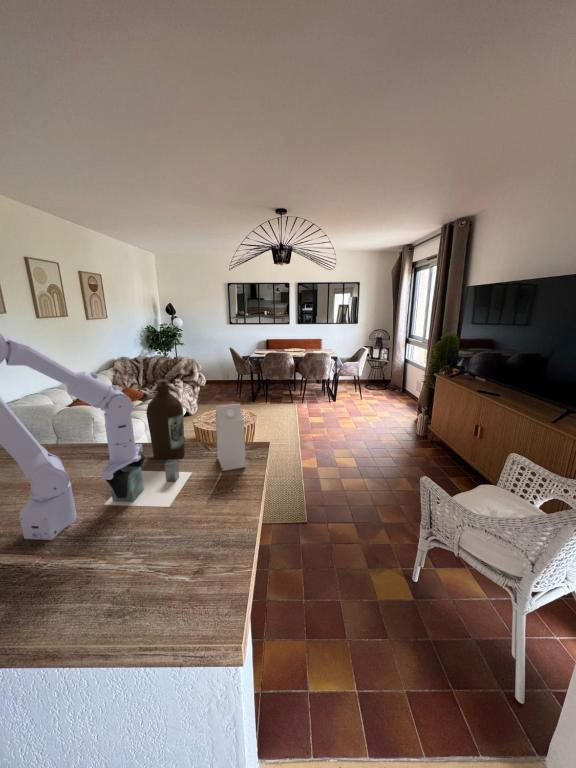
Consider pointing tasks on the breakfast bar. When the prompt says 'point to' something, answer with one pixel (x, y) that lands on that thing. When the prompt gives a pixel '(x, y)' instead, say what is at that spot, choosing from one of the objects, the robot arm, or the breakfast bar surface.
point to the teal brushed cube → (131, 484)
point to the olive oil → (166, 424)
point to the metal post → (171, 470)
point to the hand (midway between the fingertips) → (128, 490)
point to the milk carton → (230, 436)
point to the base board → (156, 490)
